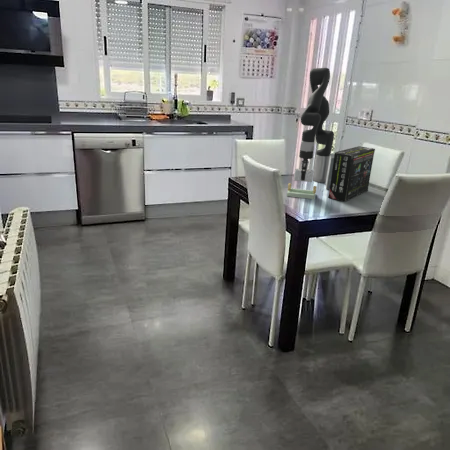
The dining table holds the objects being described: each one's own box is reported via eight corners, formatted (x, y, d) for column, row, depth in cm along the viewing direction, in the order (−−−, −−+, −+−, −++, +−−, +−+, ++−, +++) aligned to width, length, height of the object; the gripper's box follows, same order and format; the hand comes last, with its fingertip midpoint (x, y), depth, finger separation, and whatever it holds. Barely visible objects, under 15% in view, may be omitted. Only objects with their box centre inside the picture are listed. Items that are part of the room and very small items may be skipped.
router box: (351, 187, 255) (358, 145, 246) (368, 191, 249) (376, 148, 240) (326, 198, 229) (333, 151, 220) (344, 202, 223) (353, 154, 213)
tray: (288, 191, 238) (289, 181, 236) (315, 194, 235) (317, 184, 233) (286, 195, 228) (287, 185, 226) (315, 199, 225) (316, 188, 223)
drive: (293, 178, 231) (295, 168, 229) (311, 180, 230) (312, 169, 228) (294, 180, 227) (295, 170, 224) (311, 182, 226) (313, 171, 224)
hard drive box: (338, 190, 245) (343, 158, 238) (326, 189, 247) (330, 157, 240) (337, 184, 260) (342, 154, 253) (325, 183, 261) (329, 153, 254)
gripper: (300, 147, 230) (297, 175, 235) (299, 150, 216) (295, 181, 222) (314, 148, 228) (310, 177, 234) (313, 152, 215) (309, 182, 221)
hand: (303, 178), depth 228 cm, fingers closed on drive, 5 cm apart
